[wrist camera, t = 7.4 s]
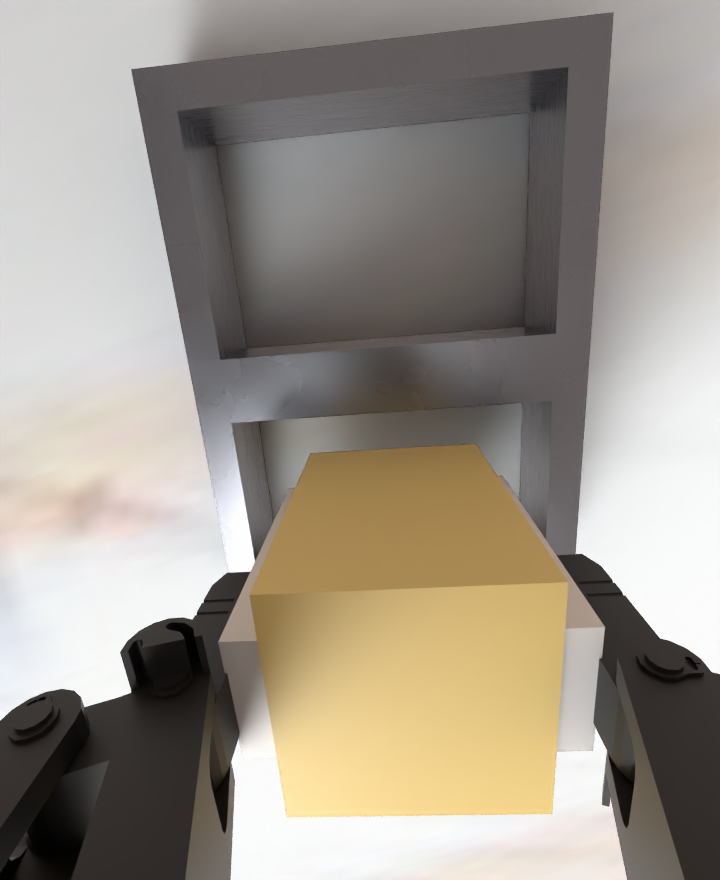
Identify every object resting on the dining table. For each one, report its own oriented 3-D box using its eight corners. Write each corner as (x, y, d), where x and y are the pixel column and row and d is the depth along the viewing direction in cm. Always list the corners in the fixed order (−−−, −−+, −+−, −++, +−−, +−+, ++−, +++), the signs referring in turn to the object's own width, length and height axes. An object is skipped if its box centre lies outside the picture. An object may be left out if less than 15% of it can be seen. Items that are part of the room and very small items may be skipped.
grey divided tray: (179, 113, 15) (131, 69, 12) (565, 70, 14) (613, 12, 11) (258, 573, 20) (238, 620, 17) (542, 558, 19) (571, 606, 16)
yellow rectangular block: (310, 453, 14) (249, 595, 7) (475, 443, 14) (568, 582, 7) (325, 592, 15) (286, 816, 9) (475, 587, 15) (552, 813, 9)
